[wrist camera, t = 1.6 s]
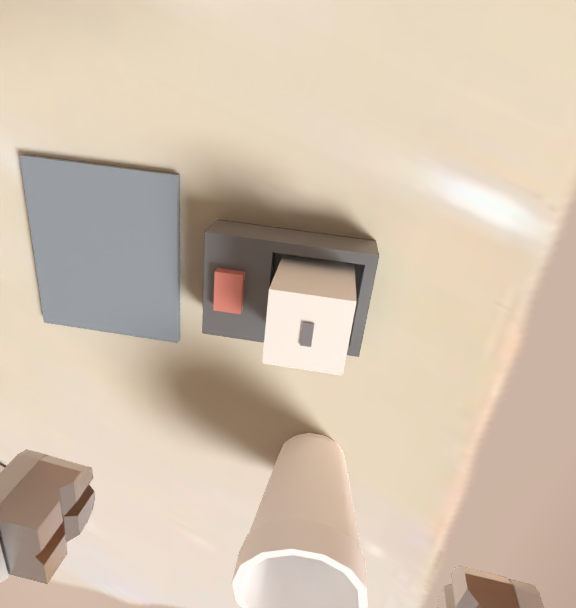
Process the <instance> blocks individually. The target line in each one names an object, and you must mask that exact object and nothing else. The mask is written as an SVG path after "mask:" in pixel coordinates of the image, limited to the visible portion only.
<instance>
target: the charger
mask: <svg viewBox="0 0 576 608" xmlns="http://www.w3.org/2000/svg"><path fill="white" fill-rule="evenodd" d="M356 302H357V300H356V282H355V265H354V263H347V262H339V261H332V260H325V259H317V258H310V257H303V256H295V255H288V254H283V256H282V259H281V261H280V263H279V266H278V268H277V271H276V273H275V276H274V278H273V280H272V283H271V285H270V288H269V294H268V305H267V316H266V327H265V337H264V348H263V359H262V363H264V364H270V365H277V366H283V367H290V368H296V369H303V370H309V371H316V372H322V373H329V374H335V375H342V376H343V372H344V367H345V361H346V356H347V350H348V345H349V340H350V334H351V329H352V324H353V318H354V313H355V308H356Z"/></svg>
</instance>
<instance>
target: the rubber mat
mask: <svg viewBox="0 0 576 608" xmlns="http://www.w3.org/2000/svg"><path fill="white" fill-rule="evenodd" d="M19 157H20V163H21V170H22V177H23V184H24V191H25V197H26V204H27V211H28V218H29V224H30V231H31V238H32V245H33V251H34V258H35V265H36V272H37V279H38V285H39V292H40V299H41V306H42V312H43V319H44V323H51V324H57V325H64V326H71V327H77V328H84V329H90V330H97V331H103V332H110V333H117V334H123V335H130V336H136V337H143V338H149V339H156V340H163V341H169V342H176V343H178V341H179V340H180V174H172V173H164V172H156V171H149V170H141V169H133V168H125V167H117V166H109V165H102V164H94V163H86V162H78V161H70V160H62V159H54V158H47V157H39V156H31V155H20V156H19Z"/></svg>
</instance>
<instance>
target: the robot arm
mask: <svg viewBox="0 0 576 608" xmlns="http://www.w3.org/2000/svg"><path fill="white" fill-rule="evenodd" d="M92 479H93V472H92V468H91V467H87V466H84V465H80V464H77V463H73V462H70V461H66V460H63V459H59V458H56V457H52V456H49V455H46V454H42V453H38V452H35V451H31V450H27V449H26V450H25V451H23V452H21V453H20V454H18V455H17V456H16V457H15V458H14V459H13V460H12V461H11V462H10V463H9V464H8V465H7V466H6V467H3V466H1V465H0V583H1V582H2V581H4V580H5V579H6V578H8V577H9V574H11V575H15V576H18V577H22V578H26V579H30V580H34V581H38V582H42V583H45V584H48V582H49V581H50V579H51V578H52V576H53V575H54V573H55V572H56V570H57V568H58V567H59V565H60V564H61V562H62V561H63V559H64V558H65V556H66V555H67V542H68V541H69V540H71V539H73V538H74V537H76V536H78V535H79V534H80V533H81V531H82V530H83V528H84V527H85V525H86V523H87V522H88V519H89V517H90V514H91V512H92V510H93V506H94V500H95V493H94V490H93V489H92V488H91V486H90V485H89V483H90V482H91V480H92ZM451 577H452V584H449V585H447V586H444V588H443V589H442V591H441V593H440V595H439V600H438V605H437V608H544V606H543V603H542V600H541V597H540V594H539V592H538V590H537V589H536V587H535V586H533V585H531V584H527V583H523V582H520V581H516V580H511V579H507V578H506V577H503V576H499V575H495V574H491V573H487V572H483V571H479V570H475V569H471V568H467V567H463V566H458V567H455V569H454V571H453V572H452V574H451Z"/></svg>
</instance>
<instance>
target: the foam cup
mask: <svg viewBox="0 0 576 608" xmlns="http://www.w3.org/2000/svg"><path fill="white" fill-rule="evenodd" d="M232 585H233V590H234V594H235V598H236V602H237V603H238V604H239V605H240V607H241V608H368V605H367V583H366V562H365V556H364V554H363V553H362V551H361V546H360V540H359V534H358V528H357V523H356V517H355V511H354V506H353V500H352V494H351V489H350V483H349V477H348V471H347V466H346V460H345V457H344V452H343V451H342V450H341V448H340V447H339V445H338V444H337V443H336V442H335V441H333V440H331V439H330V438H328V437H326V436H325V435H320V434H314V433H305V434H299V435H295V436H293V437H292V438H290V439H289V440H287V441H286V442H285V443H284V444H283V446H282V449H281V451H280V453H279V456H278V458H277V460H276V463H275V466H274V468H273V471H272V474H271V476H270V479H269V482H268V484H267V487H266V489H265V492H264V495H263V497H262V500H261V503H260V505H259V508H258V511H257V513H256V516H255V519H254V521H253V524H252V527H251V529H250V532H249V534H247V537H246V539H245V541H244V543H243V545H242V547H241V549H240V551H239V555H238V559H237V563H236V568H235V572H234V576H233V580H232Z"/></svg>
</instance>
